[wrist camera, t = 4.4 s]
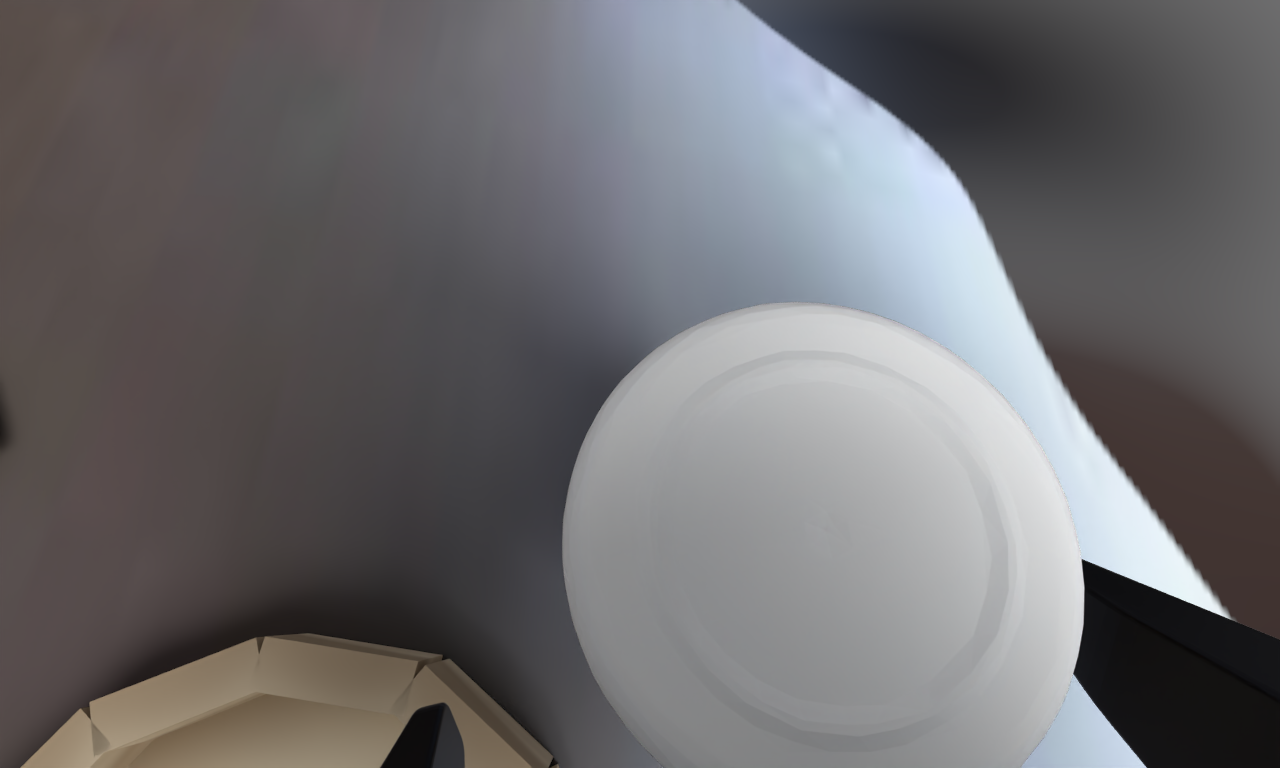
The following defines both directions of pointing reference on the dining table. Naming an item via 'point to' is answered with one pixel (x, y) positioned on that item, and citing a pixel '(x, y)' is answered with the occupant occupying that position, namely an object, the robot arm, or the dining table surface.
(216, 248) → the dining table surface
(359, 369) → the dining table surface
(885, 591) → the sprinkles bottle
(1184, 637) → the robot arm
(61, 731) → the tray
